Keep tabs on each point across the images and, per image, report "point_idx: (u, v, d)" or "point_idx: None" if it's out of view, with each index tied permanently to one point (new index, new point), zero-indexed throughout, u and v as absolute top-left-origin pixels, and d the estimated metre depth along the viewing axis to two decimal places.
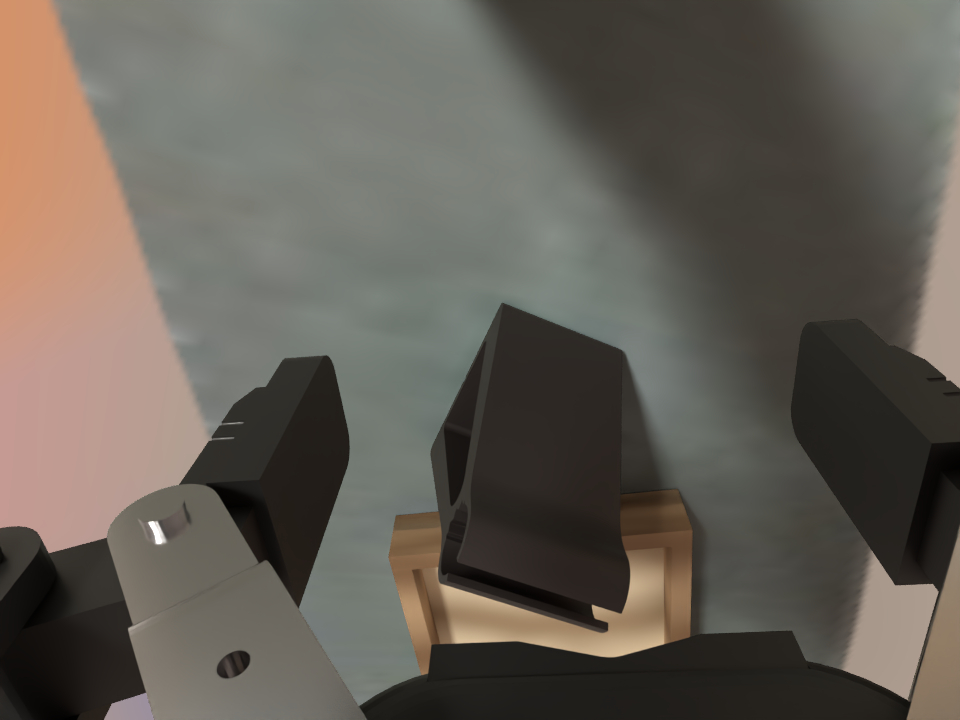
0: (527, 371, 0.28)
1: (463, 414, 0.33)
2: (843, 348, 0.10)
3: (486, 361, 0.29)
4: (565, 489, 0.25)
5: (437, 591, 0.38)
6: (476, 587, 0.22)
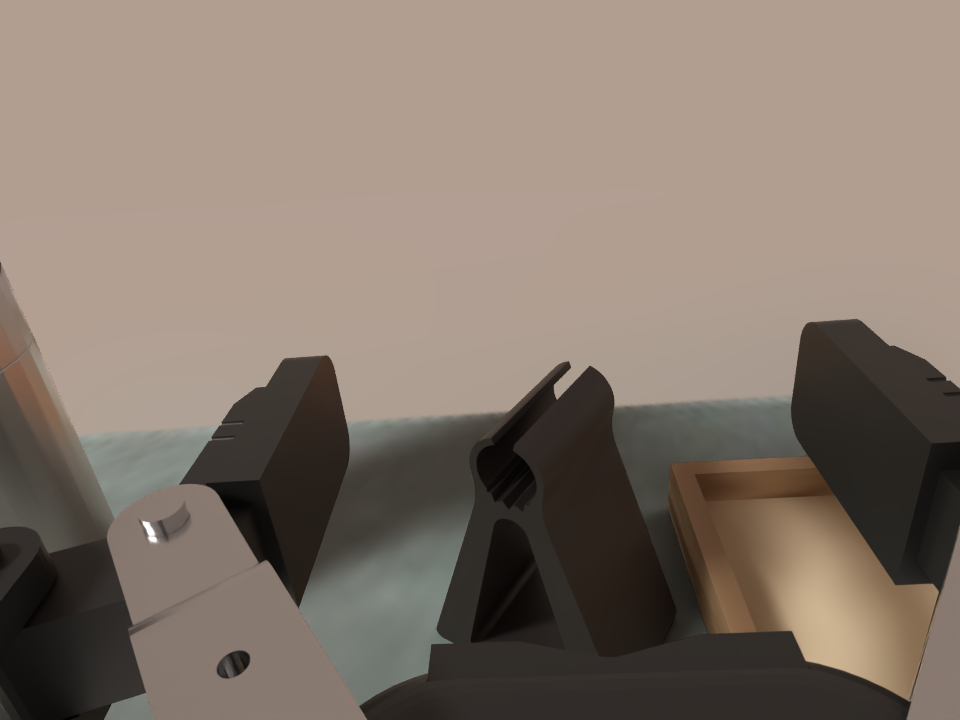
0: None
1: None
2: (843, 348, 0.10)
3: (465, 610, 0.28)
4: None
5: None
6: (528, 430, 0.23)
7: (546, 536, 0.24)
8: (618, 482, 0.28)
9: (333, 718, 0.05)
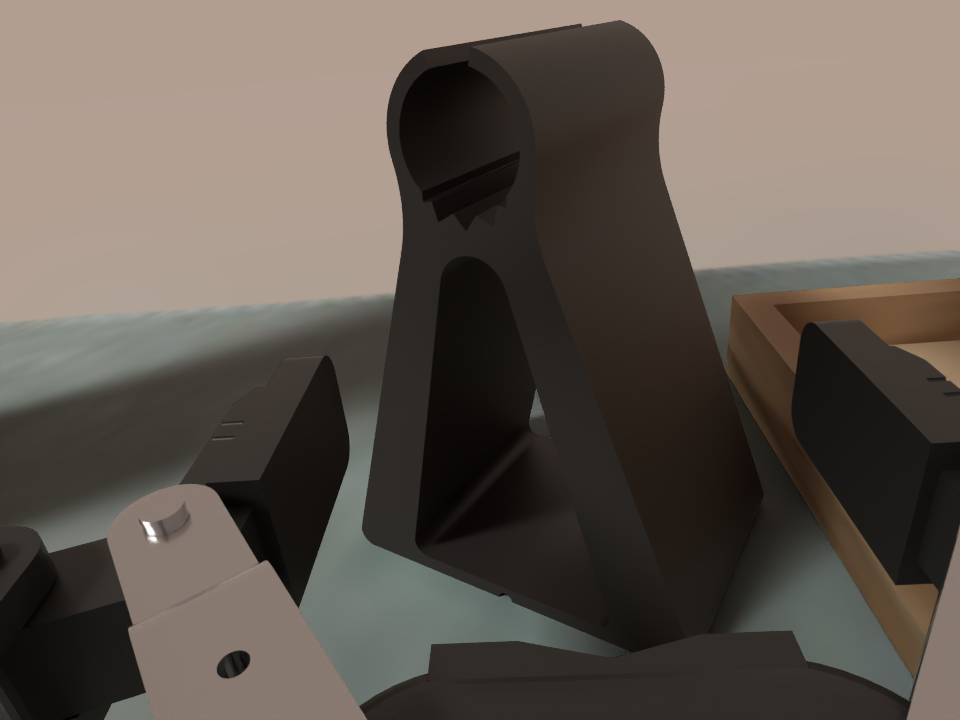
0: None
1: (581, 594, 0.16)
2: (843, 348, 0.10)
3: (403, 483, 0.16)
4: None
5: None
6: (503, 46, 0.11)
7: (542, 273, 0.12)
8: (670, 245, 0.15)
9: (333, 719, 0.05)
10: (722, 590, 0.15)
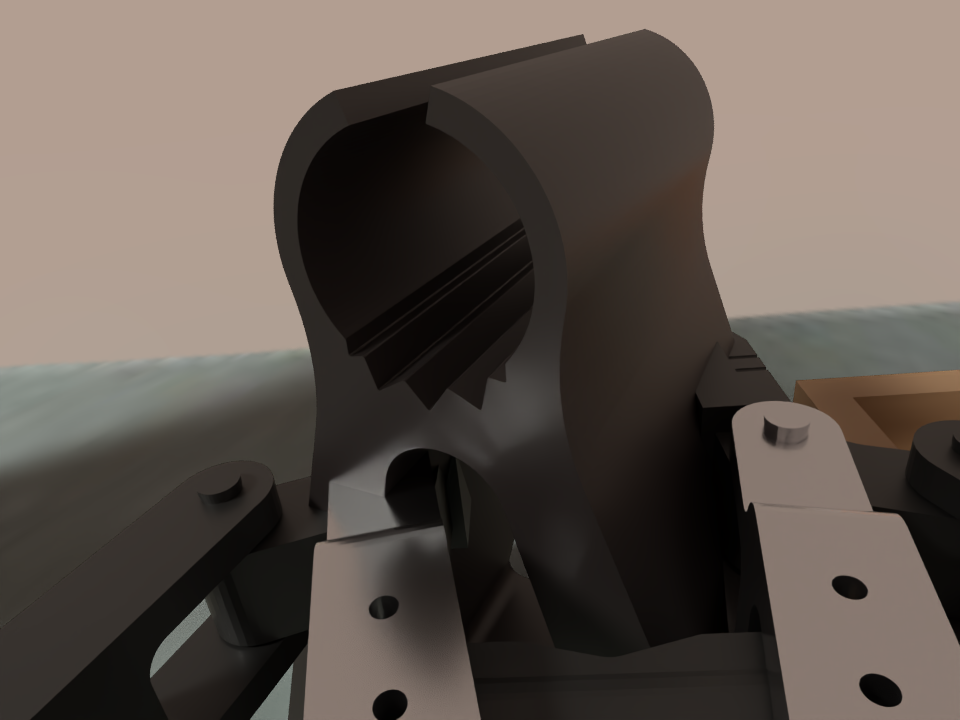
0: None
1: None
2: None
3: None
4: None
5: None
6: (489, 80, 0.06)
7: (574, 495, 0.06)
8: None
9: (449, 693, 0.05)
10: None
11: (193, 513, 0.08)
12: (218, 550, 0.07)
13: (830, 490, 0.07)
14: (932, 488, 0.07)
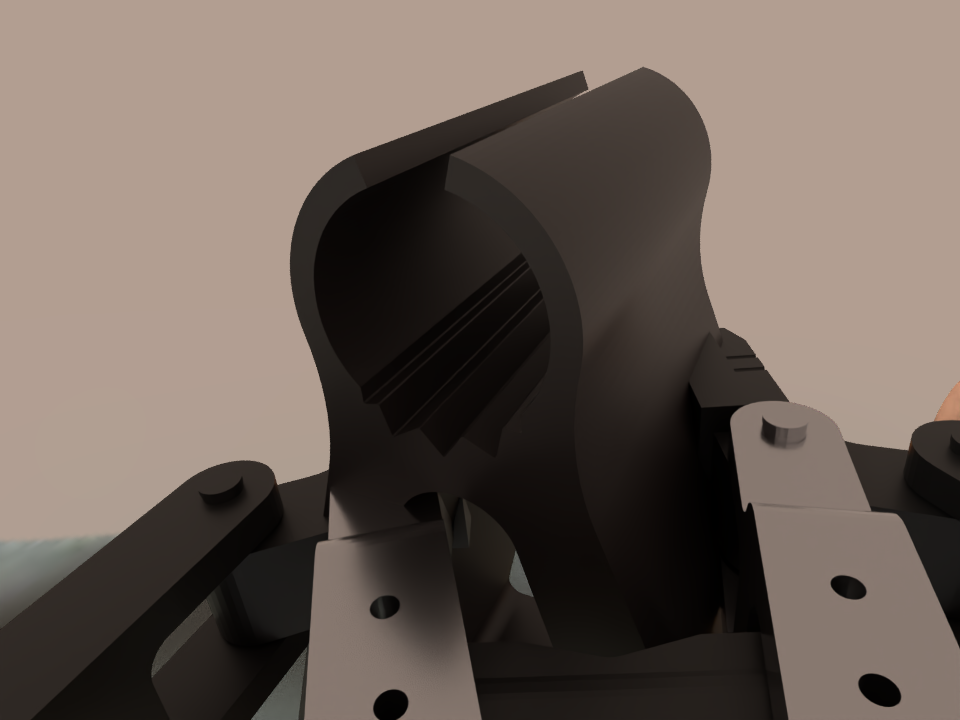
0: None
1: None
2: None
3: None
4: None
5: None
6: (502, 140, 0.06)
7: (587, 540, 0.06)
8: None
9: (450, 693, 0.05)
10: None
11: (195, 513, 0.08)
12: (220, 550, 0.07)
13: (828, 490, 0.07)
14: (930, 488, 0.07)
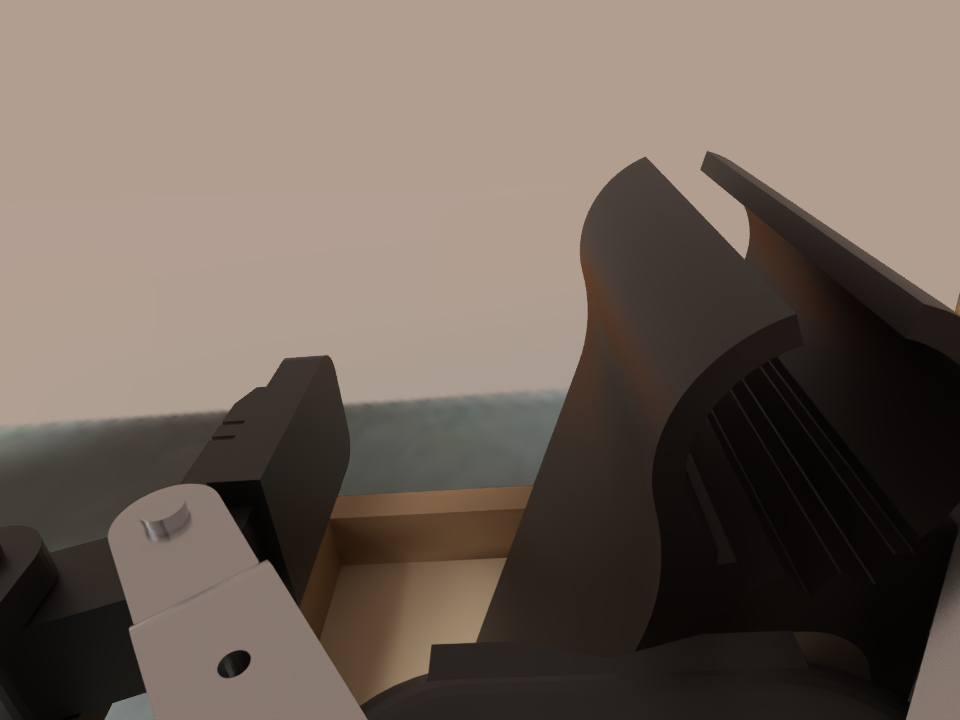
0: None
1: None
2: None
3: None
4: (585, 459, 0.10)
5: None
6: (854, 267, 0.06)
7: None
8: None
9: (333, 718, 0.05)
10: None
11: None
12: None
13: None
14: None
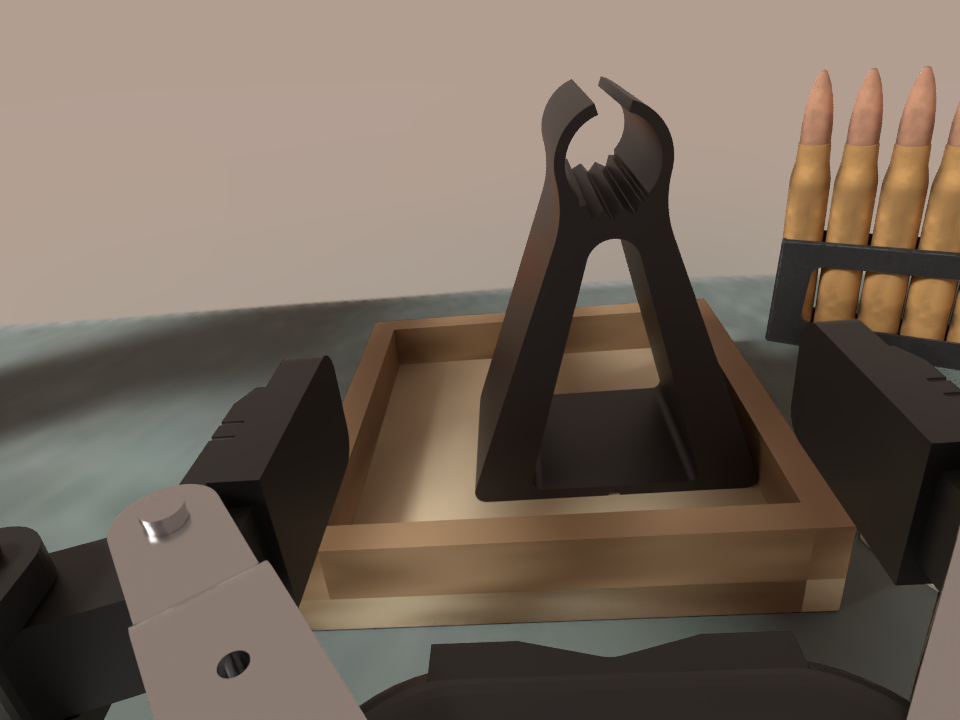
0: (501, 384, 0.22)
1: (663, 470, 0.22)
2: (843, 348, 0.10)
3: (527, 433, 0.21)
4: (542, 222, 0.21)
5: None
6: (624, 98, 0.17)
7: (670, 240, 0.18)
8: None
9: (333, 718, 0.05)
10: None
11: None
12: None
13: None
14: None
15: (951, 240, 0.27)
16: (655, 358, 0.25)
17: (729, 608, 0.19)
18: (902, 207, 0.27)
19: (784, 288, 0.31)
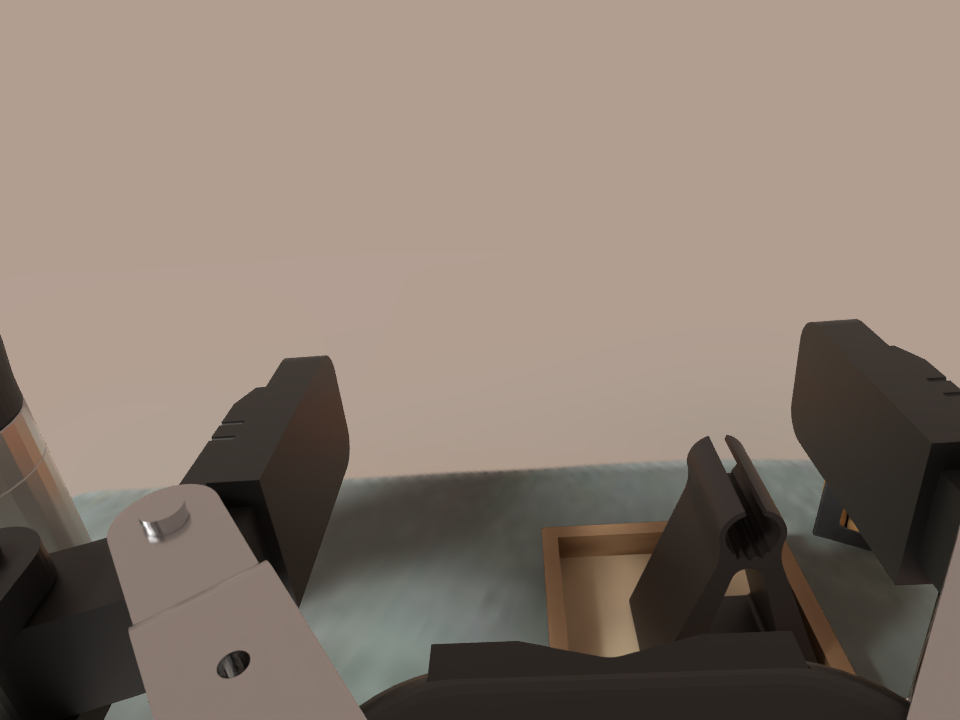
0: (664, 622, 0.35)
1: None
2: (843, 348, 0.10)
3: None
4: (691, 525, 0.35)
5: None
6: (758, 497, 0.31)
7: (781, 569, 0.31)
8: None
9: (333, 718, 0.05)
10: None
11: None
12: None
13: None
14: None
15: None
16: (751, 585, 0.39)
17: None
18: None
19: (827, 505, 0.45)
